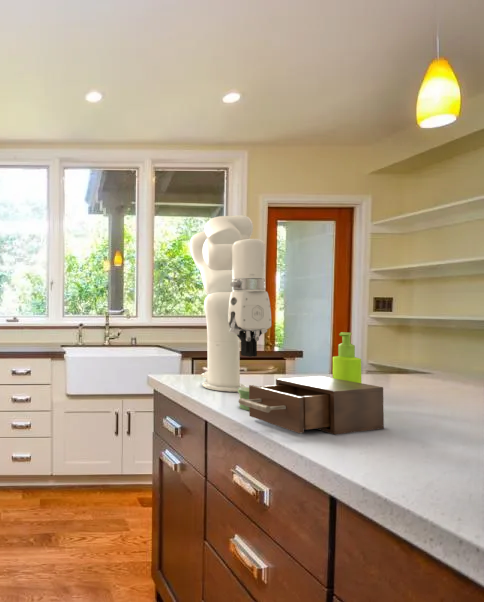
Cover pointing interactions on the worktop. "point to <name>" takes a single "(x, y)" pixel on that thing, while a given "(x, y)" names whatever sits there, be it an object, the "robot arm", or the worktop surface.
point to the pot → (243, 396)
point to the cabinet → (346, 403)
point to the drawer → (289, 407)
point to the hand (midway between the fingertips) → (248, 355)
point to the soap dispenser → (346, 361)
